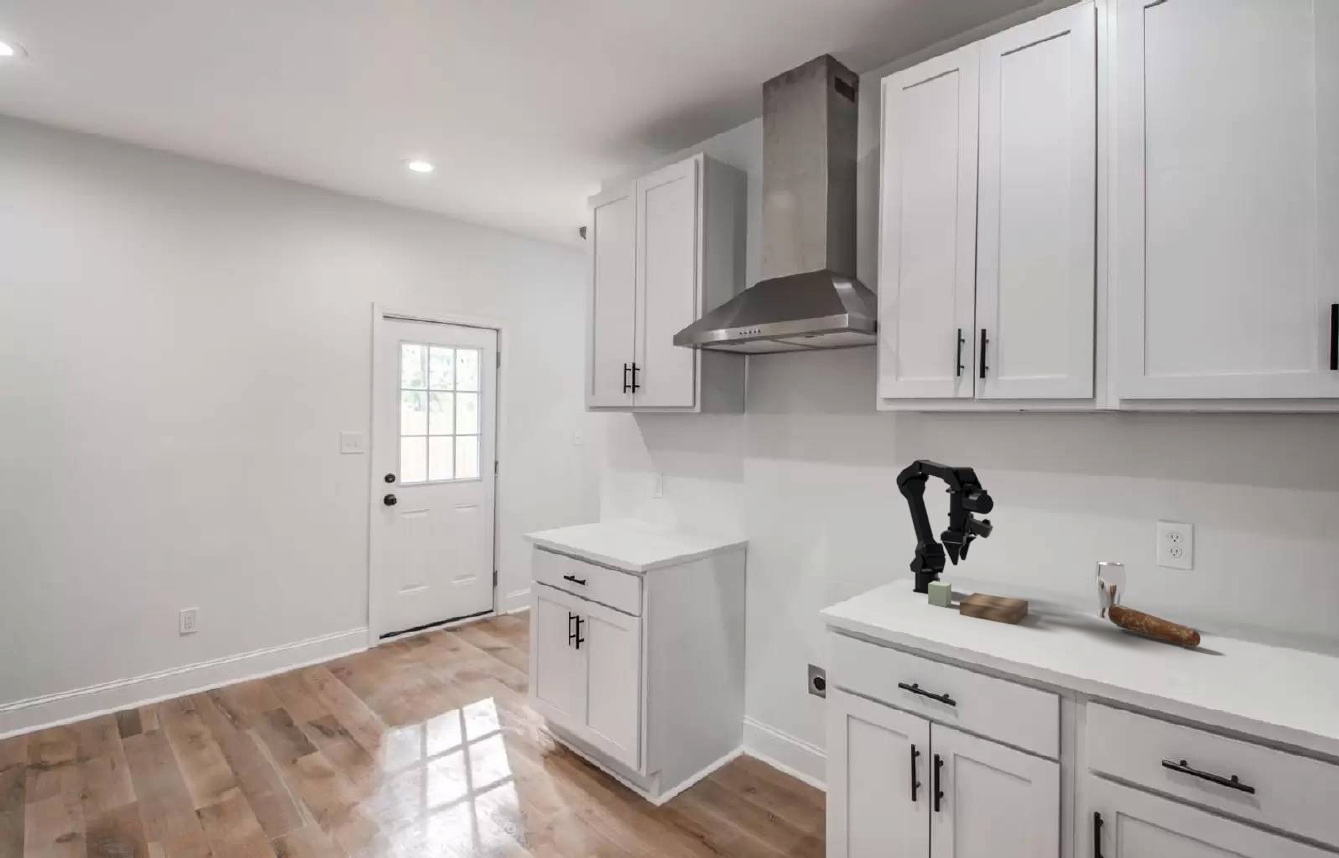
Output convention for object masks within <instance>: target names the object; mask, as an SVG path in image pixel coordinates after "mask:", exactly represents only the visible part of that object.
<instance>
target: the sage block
mask: <svg viewBox="0 0 1339 858" xmlns="http://www.w3.org/2000/svg"><path fill="white" fill-rule="evenodd" d="M927 604H928V605H930V606H931V605H933V606H938V607H943V608H947V607H948V606H950V605H951V604H952V583H949V582H944V581H943V582H942V581H940V582H938V581H933V582H931V583H929V584H928V594H927Z"/></svg>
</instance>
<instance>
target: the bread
mask: <svg viewBox="0 0 1339 858" xmlns="http://www.w3.org/2000/svg"><path fill="white" fill-rule="evenodd" d="M1108 616H1109V618H1110V620H1109V621H1110V623H1112V624H1115V625H1116V626H1117V627H1119V628H1122V629H1125V630H1129V631H1133V632H1137V633H1141V634H1144V635H1149V636H1151V637H1156V638H1158V639H1162V640H1166V641H1170V642H1174V643H1177V644H1182V645H1186V646H1190V647H1191V646H1192V647H1197V646H1200V643H1201V636H1200V633H1198V631H1196V630H1194V629H1191V628H1188V627H1185V626H1183V625H1180V624H1178V623H1175V622H1172V621H1168V620H1166V619H1162V618H1160V617H1157V616H1154V615H1151V614H1148V613H1145V612H1143V611H1140V610H1136V609H1134V608H1132V607H1131V608H1130V607H1127V606H1125V605H1123V604H1122V605H1118V604H1113V605H1112V606H1110V607H1109V611H1108Z"/></svg>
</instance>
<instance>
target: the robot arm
mask: <svg viewBox="0 0 1339 858" xmlns="http://www.w3.org/2000/svg"><path fill="white" fill-rule="evenodd" d="M930 476H932V477H935V478H938V479H942V480H943V482H944V483H945V485H948V486H949V487H948V488H946V489H945V493H948V494H949V512H947V517H949V526H947V529H945V530H944V531H942V532H941V533H940V536H939V538H940V542H937V541H936V540H935V538H934V534H933V531H932V526H931V522H930V518H929V515H928V512H927V507H926V503H925V500H924V494H925V491H926V488H927V487H926V483H927V482H928V481H929V480H930ZM895 482H896V485H897V487H898V491H899V492H900V494H901V496H903V497H904V498H905V499H906V501H907V504H908V508H909V509H908V510H909V512H910V517H911V520H912V524H913V529H914V533H915V536H916V540H917V543H916V546H915V550H914V555H915V557H914V558H913V560H911V562H910V564H909V569H910V571H911V572H912V573H914V575H915V576H914V588H913V589H912V592H915V593H921V594H927V595H928V584H929V583H931V582H933V581H938V582H941V578H940V577H939V574H943V573H944V570H945V566H946V561H947V559H946V556H947V555H948V557H949V559H950V561H951V564H952V565H953V566H958V564H959V559H960V560H961V561H966V559H967V556H968V553H969V549H970V546H971V543H972V542H973V541H974V540H976V539H977V538H978V537H977V536H980V537H981V538H984V539H987V538H989V537H990V536H991V533H992V531H993V529H994V526H993V525H992V523H991V519H987V518H984V519H982V520H979V519H975V515H974V514H973V513H976V514H980V515H987V514H990V513H991V512H992V510H993V509H994V501H993V498H992V496H990V495H989V494H988V490H987V489H983V487H982V484H981V482H980V480H979V478H978V475H977V474H976V472H975V470H974V468H973V467H971V466H950V465H946V464H943V463H940V462H935V461H931V460H929V459H916V460H914V461H913V463H911V464H910V465H909V466H907V467H905V468H904V469H902V470H901V472H900V473H899V474H898V475H897V477H896V480H895ZM944 549H945V550H944ZM945 551H946V552H945ZM946 553H947V554H946Z"/></svg>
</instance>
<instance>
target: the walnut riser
mask: <svg viewBox="0 0 1339 858" xmlns="http://www.w3.org/2000/svg"><path fill="white" fill-rule="evenodd" d="M1028 614H1029V601H1028V600H1025V599H1018V598H1017V599H1016V598H1011V597H1003V596H999V595H992V594H986V593H980V592H979V593H978V592H974V593H972V594H970V595H968V596H966V597H965V598H963V599H962V600H960V601H959V616H966V617H971V618H972V617H973V618H977V619H982V620H989V621H993V622H999V623H1005V624H1009V625H1010V624H1011V625H1017V624H1018V623H1019V622H1020V621H1021V620H1023V619H1024V618H1025V616H1027V615H1028Z"/></svg>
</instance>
